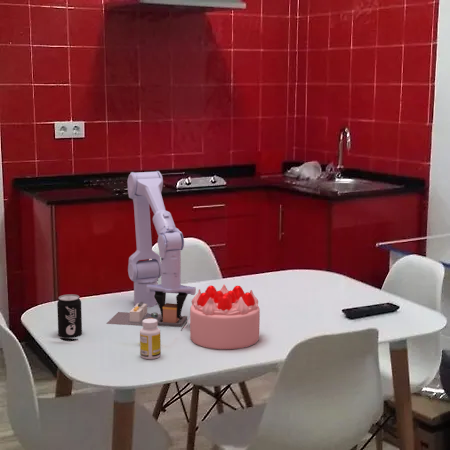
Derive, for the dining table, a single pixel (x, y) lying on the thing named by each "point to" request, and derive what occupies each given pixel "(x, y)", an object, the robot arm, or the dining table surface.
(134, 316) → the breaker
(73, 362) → the dining table surface
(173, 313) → the copper lidded box
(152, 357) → the supplement bottle
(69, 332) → the beverage can
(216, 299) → the cake
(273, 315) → the dining table surface
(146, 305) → the block
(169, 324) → the socket
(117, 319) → the panel
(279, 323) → the dining table surface
